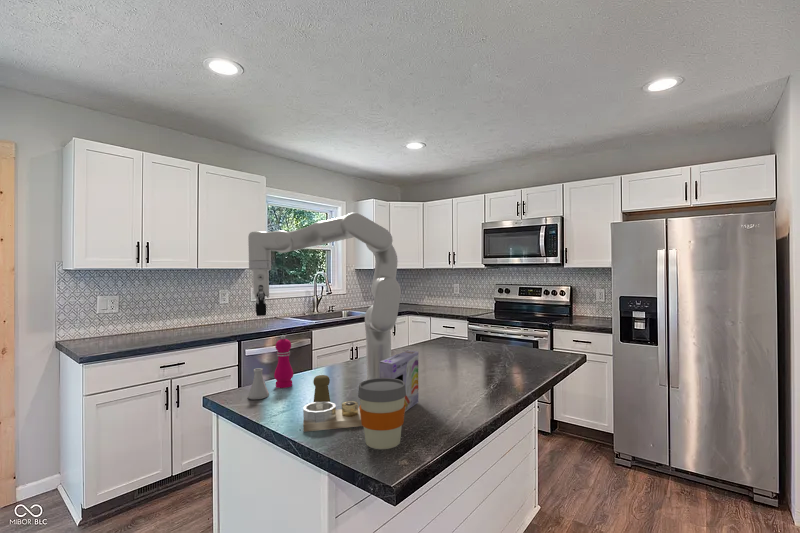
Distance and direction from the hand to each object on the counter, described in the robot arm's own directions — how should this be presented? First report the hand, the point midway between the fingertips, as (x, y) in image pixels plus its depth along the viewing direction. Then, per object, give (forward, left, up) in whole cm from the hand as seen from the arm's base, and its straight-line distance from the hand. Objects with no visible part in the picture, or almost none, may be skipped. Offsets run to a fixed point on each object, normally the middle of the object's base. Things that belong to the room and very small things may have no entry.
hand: (260, 314), depth 144 cm
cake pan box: (-44, +26, -30) cm, 60 cm away
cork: (-21, +18, -30) cm, 41 cm away
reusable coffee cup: (-36, +47, -30) cm, 66 cm away
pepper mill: (-6, -14, -30) cm, 34 cm away
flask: (+2, -2, -30) cm, 30 cm away
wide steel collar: (-20, +30, -28) cm, 45 cm away
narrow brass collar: (-28, +30, -28) cm, 50 cm away
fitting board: (-24, +30, -30) cm, 49 cm away
